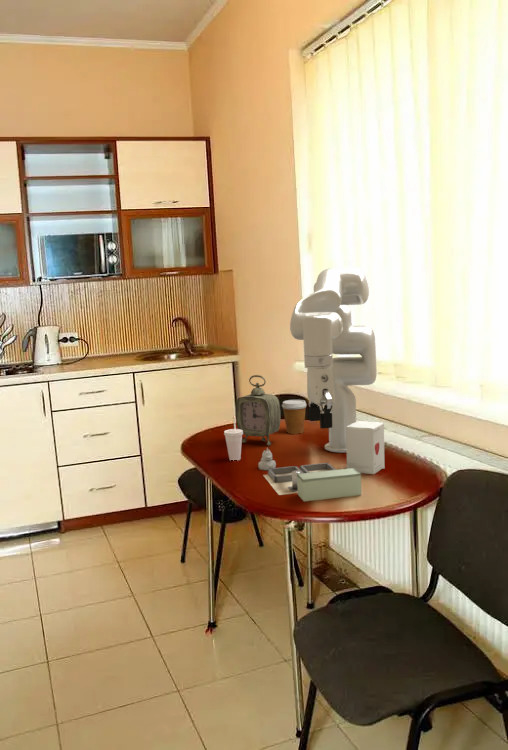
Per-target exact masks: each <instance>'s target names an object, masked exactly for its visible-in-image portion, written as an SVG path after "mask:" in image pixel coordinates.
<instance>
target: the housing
mask: <svg viewBox="0 0 508 750" xmlns="http://www.w3.org/2000/svg"><path fill="white" fill-rule="evenodd" d="M297 484H298V493H297V495H298V497H300V499H301V500H302V501H303V502H309V501H310V502H312V501H321V500H329V499H335V498H336V499H337V498H346V497H353V496H354V497H356V496H362V473H359V472H358V471H357V470H355V469H354V468H348V469H347V468H341V469H339V468H338V469H336V470H329V471H320V472H310V473H301V474H297Z"/></svg>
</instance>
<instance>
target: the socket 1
mask: <svg viewBox="0 0 508 750" xmlns="http://www.w3.org/2000/svg"><path fill="white" fill-rule="evenodd" d="M295 470H298V471H300V474H301V473H303V472H302V471H301V470H300V467H298V466H297V465H293V466H283V467H281V466H280V467H275V468H272V469H268V470H267V475H269V476H270V478H271V479H272V480H273V481H274V483H280V482H289V481H292V474H291V475H282V476H276V474H286V473H292V471H295Z"/></svg>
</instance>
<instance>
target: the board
mask: <svg viewBox="0 0 508 750" xmlns="http://www.w3.org/2000/svg"><path fill="white" fill-rule="evenodd" d="M320 471H328V470H327V469H324V470H314V471H309V472H320ZM291 474H292V473H286V474H276V476H282V475H291ZM262 476H263V477H264V478H265V480H266V481H267V482H268V483H269V485H270V486H271V487H272V489H273V490H274V491H275V492H276V493H277V495H278V496H284V495H293V494H298V490H295V489H292V481H289V482H280V483H274V481H273V480H272V479H271V478H270V476H269V475H268V474H263V475H262Z"/></svg>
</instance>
